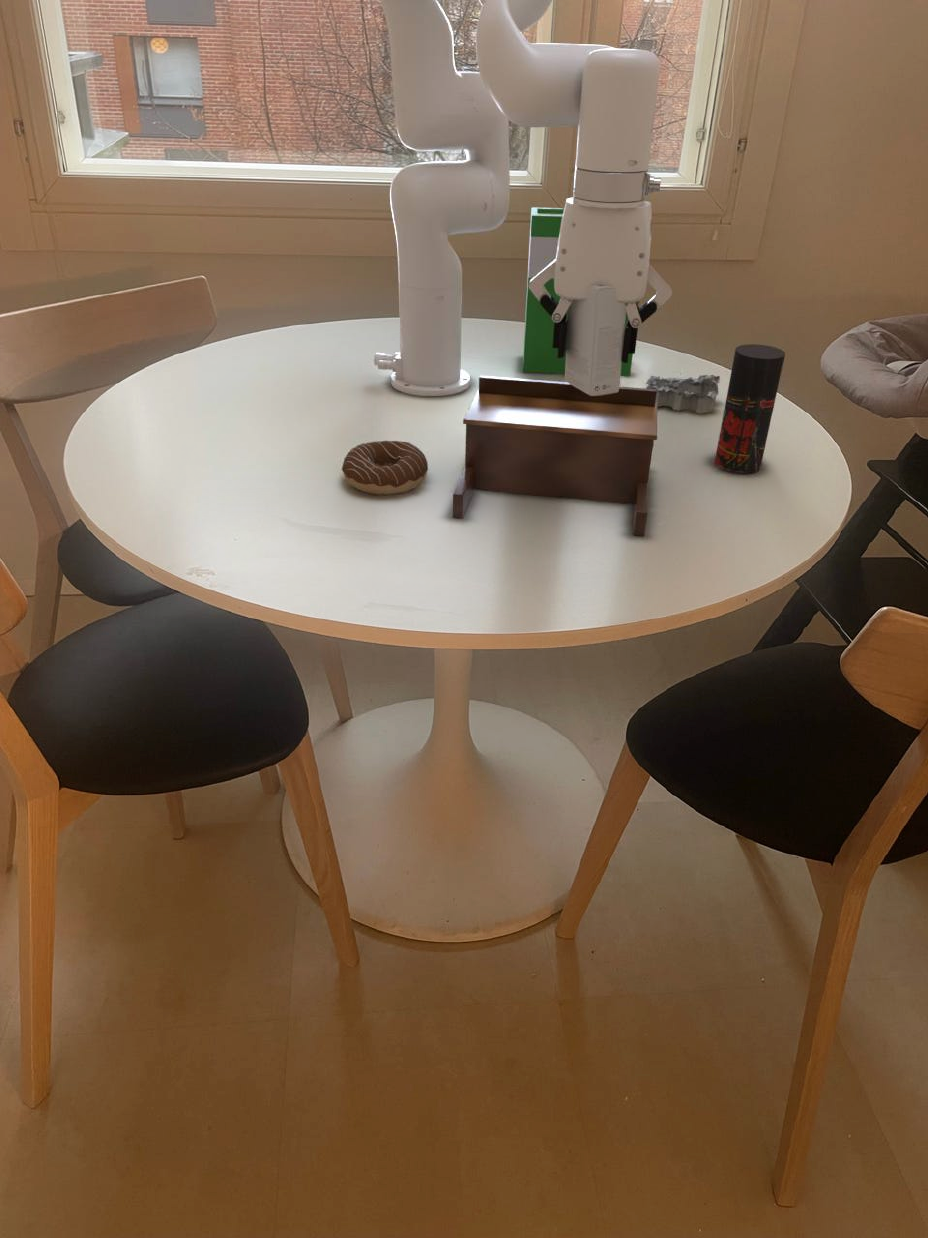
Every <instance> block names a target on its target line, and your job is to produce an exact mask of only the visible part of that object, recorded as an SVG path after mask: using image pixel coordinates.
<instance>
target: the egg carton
mask: <svg viewBox="0 0 928 1238" xmlns="http://www.w3.org/2000/svg"><path fill="white" fill-rule="evenodd" d="M720 378H721V377H720V375H714V374H710V375H709V374H703V375H699V376H698V377H697V378H694V377H692V376H691V377H690V376H689V377H688V378H679V377H667V378H666V377H663V378H662V377H661V378H660V376H656V375H651V376H650V377H649V378H648V379H647V381H646V382H645V384H646V385H647V386H646V388H647V389H657V395H656V402H655V404H656V405H657V408H658V407H663V406H665V407H670V408H672V410H673V411H681V410H690V411H691V410H692V411H694V412H695V413H696V414H699V415H700V414H701V415H702V414H705V413H711V412H712V411H713V409H714V405H715V404H716V400H717V396H719V384H720V382H721V381H720V380H721V379H720Z"/></svg>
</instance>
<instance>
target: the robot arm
mask: <svg viewBox="0 0 928 1238" xmlns="http://www.w3.org/2000/svg"><path fill="white" fill-rule="evenodd" d="M379 1H380V5H381V9H382V11H383V15H384V19H385V22H386V27H387V32H388V40H389V49H390V51H389V52H390V67H391V81H392V94H393V95H392V96H393V108H394V120H395V127H396V131H397V136H398V138H399V140H400V142H401V143H402V145H403V146H404V147H406V148H407V149H410V150H413V151H420V152H438V151H439V152H442V151H444V152H445V151H465V156H466V160H454V161H453V160H443V161H442V160H441V161H424V162H416V163H412V164H409V165H407V166H405V167H403V168H401V169H400V170H399V171H397V173H396V174H395V175H394V177H393V178H392V181H391V184H390V188H389V200H390V201H389V202H390V209H391V215H392V220H393V226H394V232H395V238H396V248H397V250H396V251H397V269H398V270H397V271H398V308H399V309H398V310H399V311H398V313H399V314H398V316H399V317H398V319H399V352H395V353H394V354H387V353H380V352H375V353H374V356H373V362H374V366H377V369H378V370H383V371H384V370H385V371H387V370H391V371H392V374H391V376H390V384H391V386H392V387H393V388H394V390H397V391H399V392H401V393H404V394H408V395H413V396H418V397H419V396H420V397H444V396H450V395H455V394H459V393H462V392H463V391H465V390H467V389H468V388H469V387H470V385H471V376H470V374H469V373H468V372H467V371H465V370H464V369H461V368H462V366H461V365H462V323H463V321H462V320H463V319H462V318H463V315H462V313H463V266H462V263H461V260H460V257H459V256H458V254H457V253H456V251H455V249H454V248H453V246H452V245H451V243H450V241H449V239H448V238H449V236H454V235H457V234H468V233H470V234H471V233H481V232H489V231H493V230H496V229H497V228H499V227H501V226H502V224H503V223H504V221H505V220H506V218H507V216H508V211H509V207H510V195H511V181H510V180H511V179H510V175H511V174H510V173H511V172H510V125H509V124H510V123H513V125H516V126H518V127H520V128H521V127H522V128H555V127H557V128H559V127H569V128H577V127H578V129H577V140H576V141H577V142H576V155H575V156H576V157H575V158H576V159H575V165H574V166H575V168H574V179H573V180H574V181H573V191H572V192H573V193H572V197H569V198H566V201H565V204H564V207H563V208H564V211H563V216H562V221H561V227H560V233H559V240H558V247H557V255H556V259H555V260H554V261H553V262H552V263H550V264H549V265H548V266H547V267H546V268H544V269H543V270H542V271H541V272H540V273H538V274H537V275H536V276H535V277H533V278H532V279H531V280H530V282H529V284H528V287H529V289H530V290H531V292H532V293H533V294H534V296H535V297H536V298H537V299H538V300H539V302H540V304H541V305H542V307H543V308H544V309H545V310H546V311H547V313H548V314H549V315H550V316H551V317H552V320H553V321H554V334H553V348H558V356H557V358H562V357H564V354H565V351H566V340H567V325H568V318H567V316H566V314H567V313H566V312H567V310H568V308H569V306H570V305H571V303H572V301H573V300H585V299H587V295H588V290H589V287H590V286H591V285H603V286H614V287H615V290H616V298H617V301H619V302H622V303H625V310H626V312H627V315H628V322H626V325H625V334H624V343H623V352H622V361H623V363H628V355H629V354H633V355H635V354H636V349H637V348H636V347H637V339H638V330H639V328H640V327H641V325H642V324H643V323H644V322H645V321H647V320H648V319H649V318H650V317H651V316H652V315H653V314H655V313H656V312H657V310H658V309H660V308H661V307H662V306H663V305H664V304H665V303H666V302H667V301H668V300H670V298H672V296H673V289H672V287H671V286H670V285H669V284H668V282H666V281H665V280H664V278H663V277H662V276H661V275H660V274H659V273H658V272H657V271H656V269H655V268H654V267H653V266H652V265H651V264H650V259H651V245H652V229H653V216H652V215H653V213H652V212H653V211H652V202H650V201H646V200H645V199H646V196H648V195H649V194H653V193H660V190H661V185H662V183H661V182H662V177H655V176H653V175H651V173H649V168H650V167H649V165H650V158H651V148H652V141H653V132H654V125H655V115H656V108H657V98H658V91H659V82H660V72H661V67H660V66H661V65H660V60H659V58H658V56H657V55H656V53H654V52H652V51H650V50H647V49H635V48H616V47H613V46H609V45H604V44H591V43H590V44H589V43H588V44H585V43H584V44H583V43H580V44H579V43H557V42H556V43H555V42H553V43H552V42H538V43H537V42H533V43H532V42H529V41H528V40H527V39H526V37H525V36H524V35H523V33H524V32H525V31H527V30H528V29H530V28H532V27H533V26H534V25H536V24H537V23H538V22H539V21H540V20H541V19H542V17H543V16H544V15H545V14H546V13H547V12H548V9H549V8H550V7H551V5H552V2H553V0H478V2H479V3H480V5H481V6H482V7H481V10H480V12H479V15H478V19H477V24H476V32H475V52H476V62H477V66H478V67H477V68H478V71H458V70H457V69H456V65H455V64H456V63H455V51H454V49H455V48H454V33H453V29H452V26H451V24H450V21H449V19H448V17H447V15H446V14H445V11H444V9H443V8H442V6H441V4H440V3H439V1H438V0H379ZM509 122H510V123H509ZM553 277H554V290H555V293H556V294H557V295H558V296H560V297H561V298H560V300H559V302H558V303H557V301H556V300H555V299H554V298H553V297H552V295H551V294H550V293H548V291H547V290H546V288H545V286H544V284H545V283H546V282H548V281H549V280H550V279H551V278H553ZM648 284H649V286H650V287H652V289H653V290H654V291H655V294H654V295H653V296H652V297H651V298H650V299H648V300H647V301H646V302H644V303H643V304H642V305H641V306H640V305H639V306H638V303H637V301H639V302H640V301H641V300H643V298H644V297H645V294H646V289H647V285H648Z"/></svg>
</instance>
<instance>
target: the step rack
mask: <svg viewBox="0 0 928 1238" xmlns="http://www.w3.org/2000/svg"><path fill="white" fill-rule="evenodd" d="M656 395H657V389H647V387H633V386H621V385H620V386H619V391H618V392H617V393H612V394H606V395H599V396H590V395H588V394H586V393H585V392H583V391H581V390H579V389H578V388H576V387H574V386H572V385H571V384H569V383H567V382H566V381H553V380H541V379H528V378H517V377H516V378H515V377H503V376H501V377H500V376H491V375H490V376H489V375H480V376H479V377H478V390H477V391H476V393H475V395H474V397H473V399H472V400H471V403H470V405H469V407H468V409H467V411H466V413H465V415H464V417H463V420H462V425H465V448H464V450H465V452H464V454H465V455H464V456H465V457H464V459H465V460H464V468H463V470H462V473H461V474H460V477H459V479H458V481H457V484H456V487H455V489H454V491H453V493H452V518H456V519H463V518H464V516H465V513H466V510H467V509H468V506H469V504H470V501H471V499H472V495H473V494H474V493H473V492H474V490H477V491H487V492H488V491H489V492H498V493H508V494H519V495H529V496H530V495H531V496H540V497H541V496H542V497H550V498H551V497H552V498H562V499H574V500H582V501H583V500H584V501H594V502H595V501H596V502H603V503H604V502H605V503H617V504H625V505H626V504H627V505H634V511H633V533H632V535H633V536H639V537H644V536H645V532H646V526H647V519H648V505H649V504H648V503H649V501H648V499H649V498H648V497H649V496H648V495H649V493H648V492H649V478H650V471H651V465H652V463H651V462H652V456H653V449H654V442H655V441H657V440H658V407H657V405H656V404H655V402H656Z"/></svg>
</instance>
